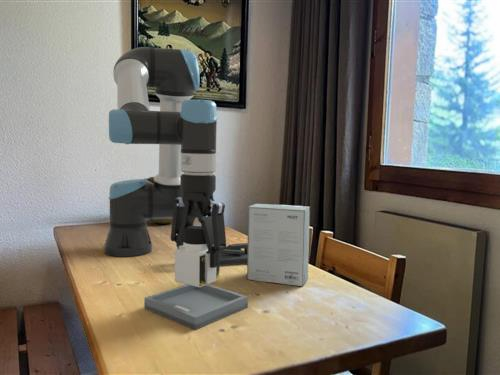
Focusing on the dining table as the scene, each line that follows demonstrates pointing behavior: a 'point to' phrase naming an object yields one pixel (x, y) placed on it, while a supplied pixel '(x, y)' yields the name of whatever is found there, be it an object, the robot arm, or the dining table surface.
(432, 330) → the dining table surface
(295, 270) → the hard drive box
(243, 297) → the tray
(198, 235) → the medicine bottle
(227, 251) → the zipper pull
